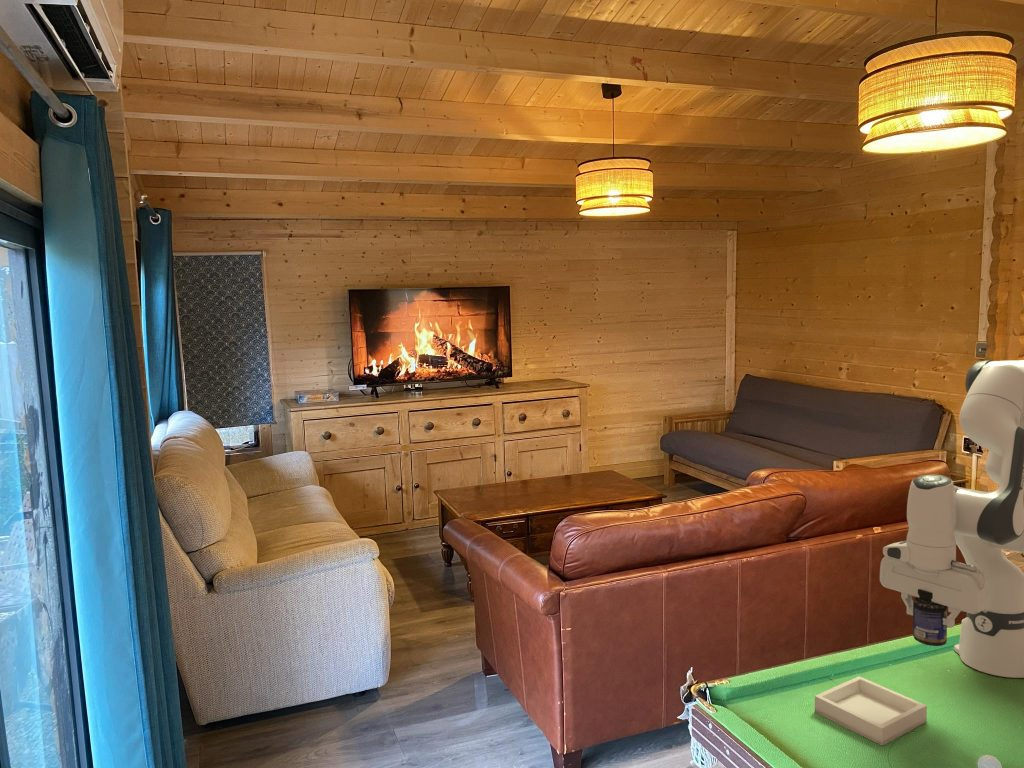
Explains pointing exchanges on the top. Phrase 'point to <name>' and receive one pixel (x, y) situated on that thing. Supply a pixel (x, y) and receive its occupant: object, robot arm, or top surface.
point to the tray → (871, 710)
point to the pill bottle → (929, 620)
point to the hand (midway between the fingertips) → (929, 620)
